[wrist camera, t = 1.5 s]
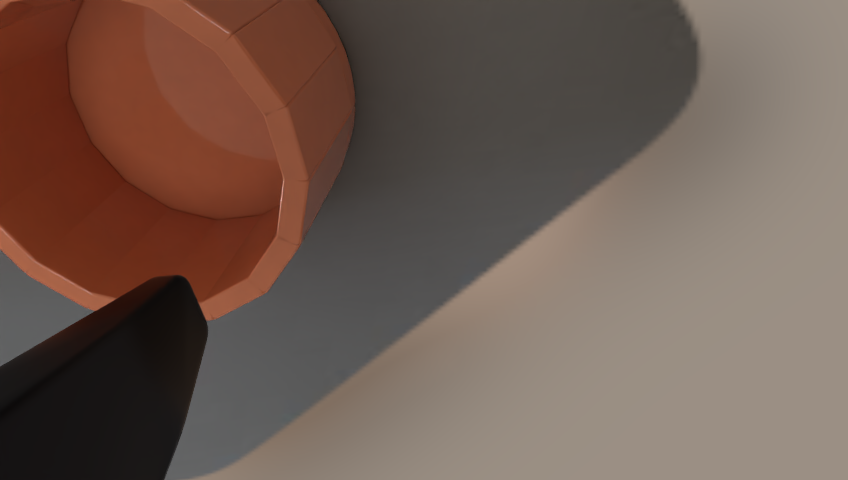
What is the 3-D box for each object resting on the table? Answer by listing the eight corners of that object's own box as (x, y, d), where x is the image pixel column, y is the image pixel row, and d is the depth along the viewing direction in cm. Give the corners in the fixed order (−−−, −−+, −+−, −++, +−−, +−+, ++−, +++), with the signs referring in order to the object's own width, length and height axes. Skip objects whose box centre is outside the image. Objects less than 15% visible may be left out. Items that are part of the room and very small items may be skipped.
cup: (383, 206, 22) (346, 310, 17) (133, 234, 23) (35, 335, 19) (311, -101, 17) (234, -76, 13) (11, -40, 19) (-156, 2, 14)
